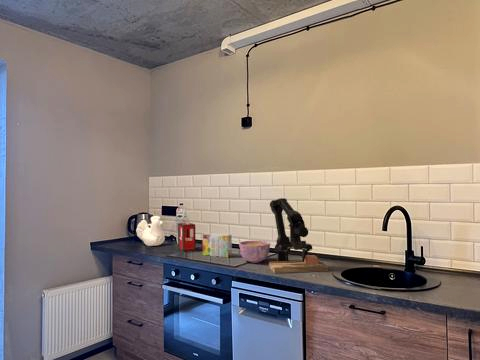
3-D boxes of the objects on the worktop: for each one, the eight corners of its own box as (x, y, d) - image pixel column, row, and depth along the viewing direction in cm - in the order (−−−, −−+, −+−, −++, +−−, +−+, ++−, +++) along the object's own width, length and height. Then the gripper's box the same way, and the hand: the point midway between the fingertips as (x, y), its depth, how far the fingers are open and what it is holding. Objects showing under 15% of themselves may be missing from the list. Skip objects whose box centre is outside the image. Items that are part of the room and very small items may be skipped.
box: (269, 266, 195) (269, 261, 195) (318, 264, 198) (318, 259, 198) (274, 273, 179) (274, 268, 179) (328, 271, 183) (328, 265, 183)
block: (304, 262, 196) (304, 255, 196) (314, 262, 196) (314, 255, 196) (307, 264, 190) (307, 257, 190) (317, 264, 190) (317, 257, 190)
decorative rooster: (168, 244, 278) (168, 215, 278) (155, 248, 264) (155, 216, 265) (146, 243, 290) (146, 214, 291) (132, 245, 276) (132, 215, 277)
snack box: (232, 256, 226) (232, 234, 226) (227, 258, 221) (227, 235, 222) (207, 253, 237) (206, 232, 237) (202, 255, 232) (202, 233, 232)
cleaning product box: (195, 251, 246) (195, 224, 246) (183, 252, 242) (183, 225, 243) (189, 248, 261) (189, 222, 261) (178, 249, 257) (177, 223, 258)
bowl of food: (268, 265, 198) (268, 246, 198) (236, 264, 202) (235, 245, 202) (272, 258, 217) (272, 240, 218) (242, 257, 221) (242, 240, 222)
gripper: (282, 237, 184) (282, 265, 183) (315, 236, 186) (315, 264, 185) (278, 234, 195) (278, 261, 194) (309, 233, 197) (309, 260, 196)
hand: (295, 262), depth 192 cm, fingers open, 9 cm apart
